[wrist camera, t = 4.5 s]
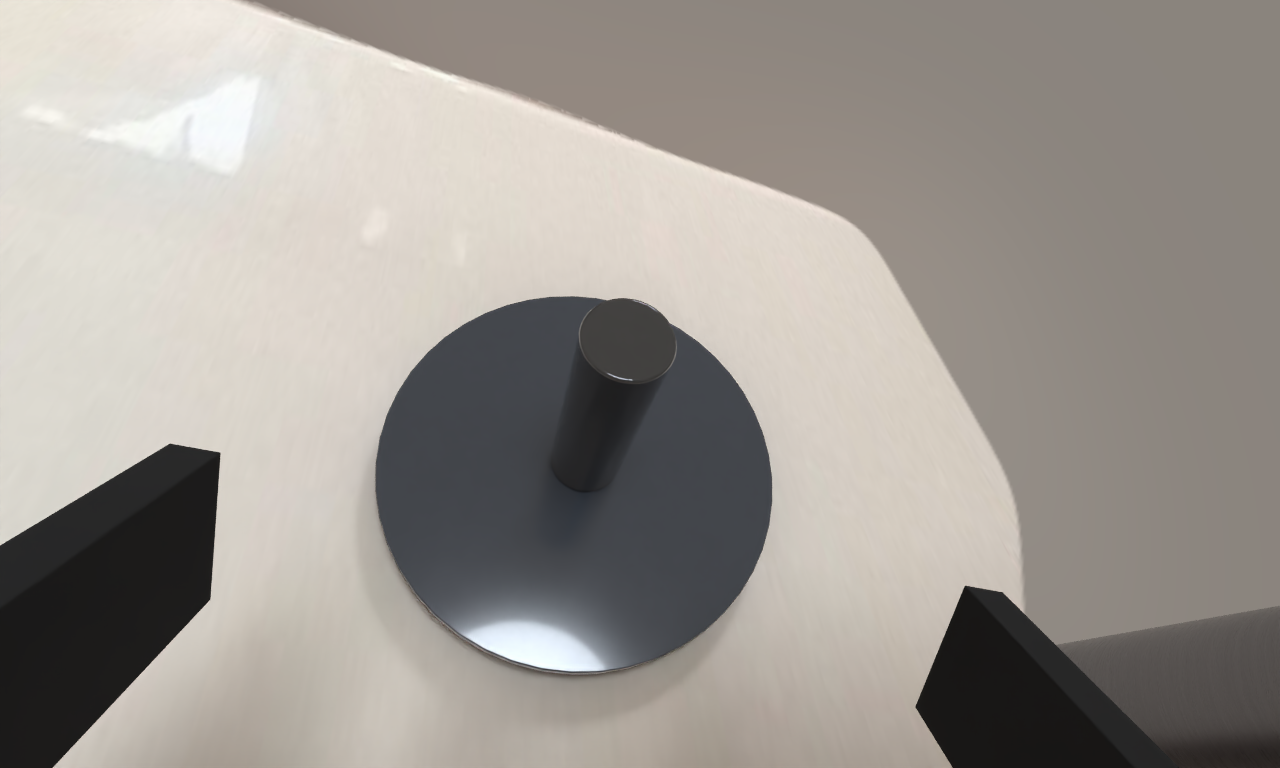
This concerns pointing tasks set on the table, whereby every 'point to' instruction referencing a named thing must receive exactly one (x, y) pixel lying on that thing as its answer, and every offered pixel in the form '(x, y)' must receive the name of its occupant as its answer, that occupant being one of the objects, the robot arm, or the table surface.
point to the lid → (573, 484)
